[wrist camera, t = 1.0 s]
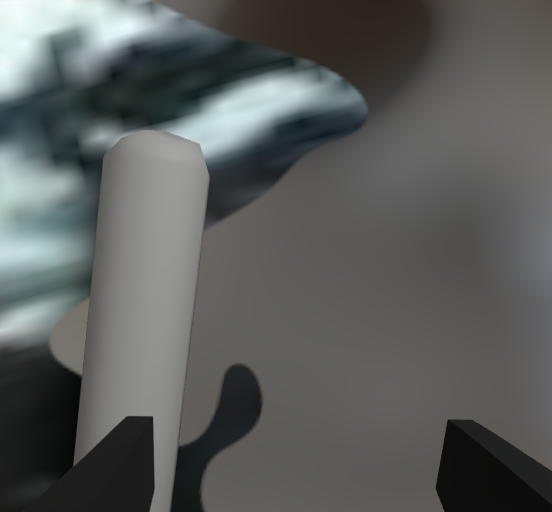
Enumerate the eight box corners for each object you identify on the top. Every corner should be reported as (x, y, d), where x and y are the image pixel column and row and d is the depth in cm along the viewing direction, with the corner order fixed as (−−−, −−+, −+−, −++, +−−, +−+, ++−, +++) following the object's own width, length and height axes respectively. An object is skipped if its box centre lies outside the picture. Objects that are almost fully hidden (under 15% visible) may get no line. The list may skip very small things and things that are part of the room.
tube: (77, 108, 16) (27, 647, 18) (195, 118, 15) (130, 686, 17) (143, 140, 21) (100, 555, 23) (234, 149, 20) (181, 580, 22)
